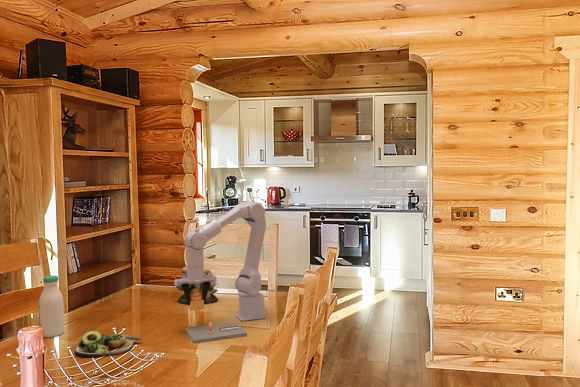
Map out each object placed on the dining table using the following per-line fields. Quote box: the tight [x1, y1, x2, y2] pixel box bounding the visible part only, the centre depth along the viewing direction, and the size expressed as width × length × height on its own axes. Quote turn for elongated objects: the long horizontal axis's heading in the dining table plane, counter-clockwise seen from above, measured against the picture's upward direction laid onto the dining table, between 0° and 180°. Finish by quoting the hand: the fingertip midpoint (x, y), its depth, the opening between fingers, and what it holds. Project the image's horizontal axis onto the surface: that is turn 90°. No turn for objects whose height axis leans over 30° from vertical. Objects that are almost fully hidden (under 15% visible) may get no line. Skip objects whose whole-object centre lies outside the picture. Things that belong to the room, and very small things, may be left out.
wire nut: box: [187, 289, 205, 311], centre depth 172 cm, size 5×5×7 cm
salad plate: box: [74, 329, 143, 358], centre depth 155 cm, size 19×18×5 cm
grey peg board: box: [185, 321, 248, 344], centre depth 167 cm, size 18×14×4 cm
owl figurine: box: [175, 266, 219, 305], centre depth 210 cm, size 18×12×17 cm, turn 94°
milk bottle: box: [38, 275, 65, 338], centre depth 167 cm, size 8×8×20 cm
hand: (196, 304), depth 172 cm, fingers closed on wire nut, 5 cm apart
